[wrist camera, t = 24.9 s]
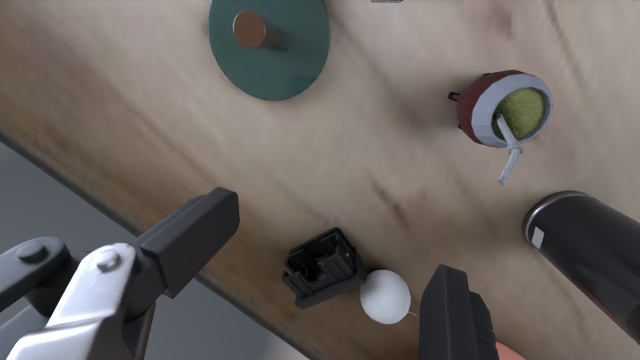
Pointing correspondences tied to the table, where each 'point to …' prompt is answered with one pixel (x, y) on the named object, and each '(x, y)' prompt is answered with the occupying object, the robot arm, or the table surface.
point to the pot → (387, 1)
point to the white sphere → (385, 296)
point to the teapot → (507, 353)
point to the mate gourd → (504, 111)
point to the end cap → (323, 268)
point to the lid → (270, 44)
